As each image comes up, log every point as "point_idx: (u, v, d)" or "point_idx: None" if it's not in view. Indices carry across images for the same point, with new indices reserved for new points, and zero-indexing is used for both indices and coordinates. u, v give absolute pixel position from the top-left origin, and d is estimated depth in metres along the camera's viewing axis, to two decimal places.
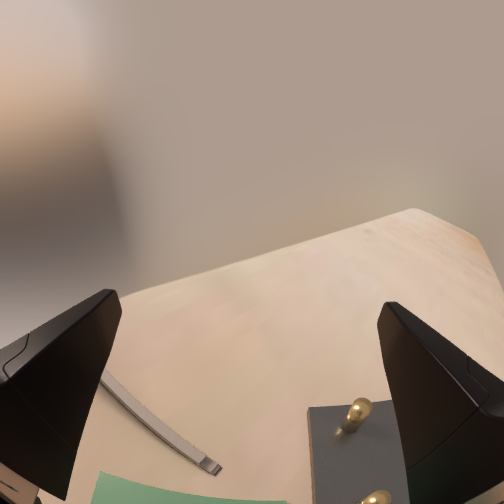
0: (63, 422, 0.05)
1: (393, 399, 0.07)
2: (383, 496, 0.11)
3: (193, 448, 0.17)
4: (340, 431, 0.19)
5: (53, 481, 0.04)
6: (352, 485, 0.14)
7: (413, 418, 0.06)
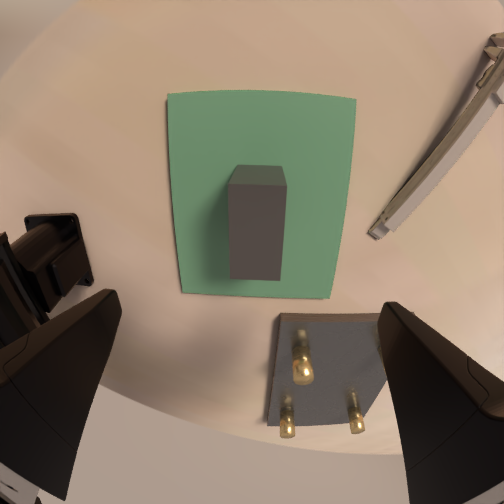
0: (63, 422, 0.05)
1: (393, 399, 0.07)
2: (306, 381, 0.20)
3: (402, 219, 0.17)
4: None
5: (53, 481, 0.04)
6: (327, 346, 0.23)
7: (413, 418, 0.06)
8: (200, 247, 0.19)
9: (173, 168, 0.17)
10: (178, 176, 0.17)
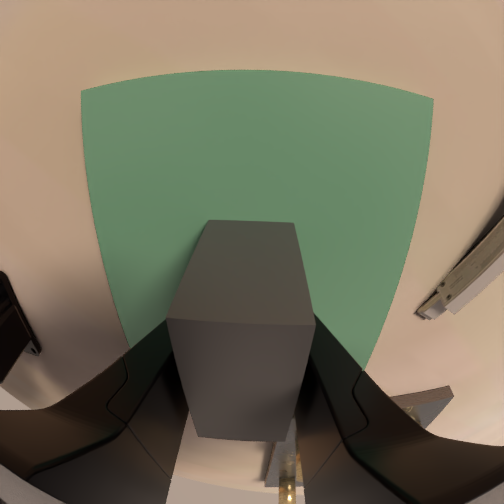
0: (165, 453, 0.05)
1: None
2: None
3: (470, 298, 0.09)
4: None
5: None
6: None
7: (304, 432, 0.06)
8: None
9: (99, 224, 0.09)
10: (109, 238, 0.09)
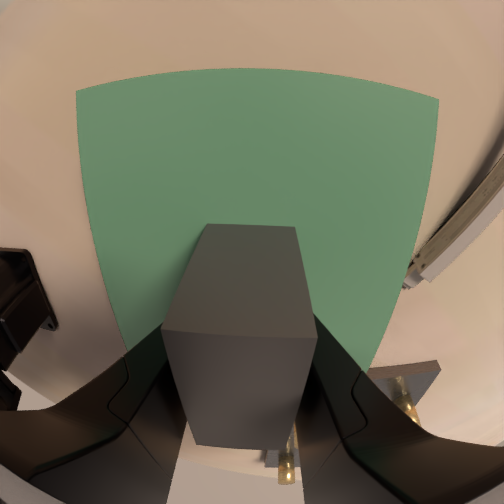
0: (166, 453, 0.05)
1: None
2: None
3: (442, 267, 0.12)
4: (400, 394, 0.17)
5: None
6: None
7: (304, 432, 0.06)
8: None
9: (96, 227, 0.09)
10: (105, 241, 0.09)
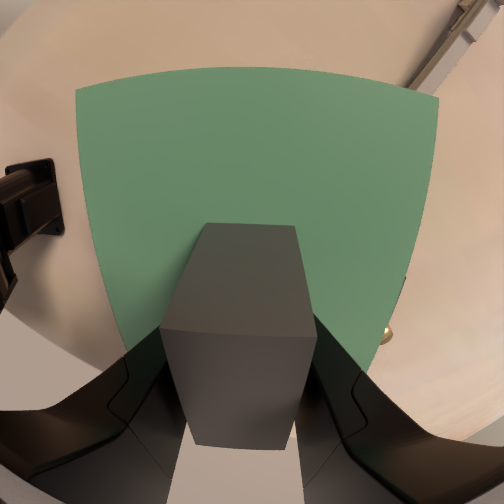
0: (166, 453, 0.05)
1: None
2: None
3: None
4: None
5: None
6: None
7: (304, 431, 0.06)
8: None
9: (95, 226, 0.09)
10: (104, 241, 0.09)
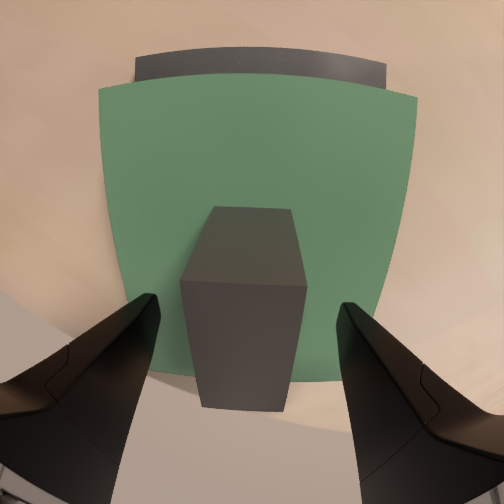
0: (108, 438, 0.05)
1: (348, 404, 0.07)
2: None
3: None
4: None
5: (96, 501, 0.04)
6: None
7: (364, 426, 0.06)
8: (166, 323, 0.12)
9: (113, 211, 0.10)
10: (122, 224, 0.10)
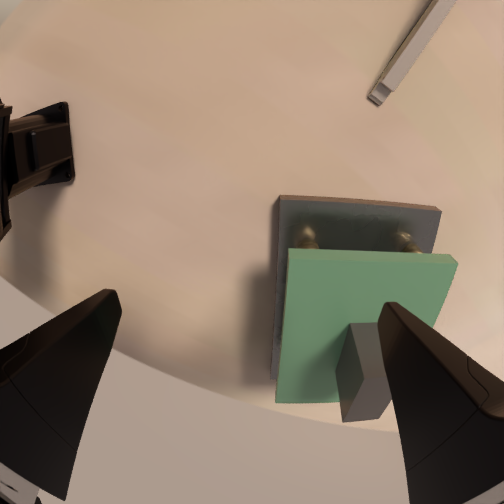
0: (63, 422, 0.05)
1: (393, 399, 0.07)
2: None
3: (400, 77, 0.13)
4: (406, 239, 0.18)
5: (53, 481, 0.04)
6: (339, 241, 0.19)
7: (413, 418, 0.06)
8: (300, 377, 0.20)
9: (287, 325, 0.17)
10: (291, 331, 0.17)
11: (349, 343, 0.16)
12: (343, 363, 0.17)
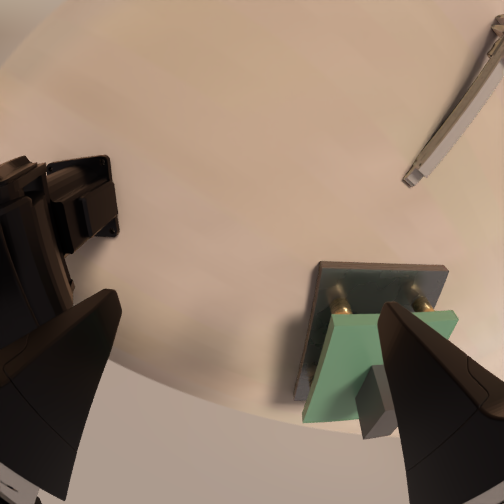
0: (63, 422, 0.05)
1: (393, 399, 0.07)
2: None
3: (434, 165, 0.16)
4: (418, 294, 0.22)
5: (53, 481, 0.04)
6: (365, 298, 0.22)
7: (413, 418, 0.06)
8: (327, 403, 0.23)
9: (324, 369, 0.20)
10: (326, 373, 0.20)
11: (371, 381, 0.20)
12: (364, 394, 0.20)
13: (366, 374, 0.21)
